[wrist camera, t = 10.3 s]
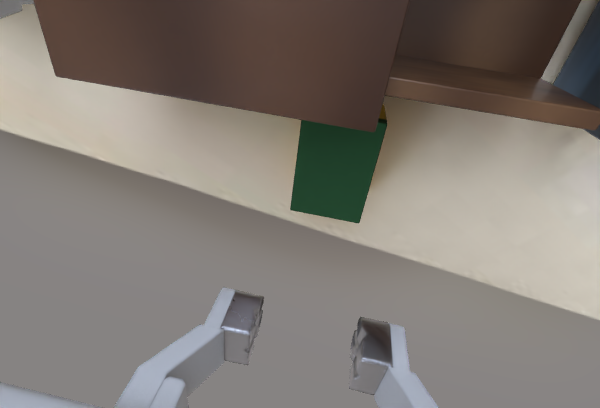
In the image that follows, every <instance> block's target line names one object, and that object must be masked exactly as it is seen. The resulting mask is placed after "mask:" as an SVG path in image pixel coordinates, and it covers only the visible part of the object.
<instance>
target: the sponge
mask: <svg viewBox="0 0 600 408" xmlns="http://www.w3.org/2000/svg"><path fill="white" fill-rule="evenodd" d="M386 128H387V120H386V114H385V108H384V105H383V104H382V108H381V112H380V115H379V119H378V123H377V127H376V130H375V132H368V131H362V130H357V129H351V128H345V127H340V126H334V125H328V124H323V123H317V122H311V121H306V120H302V121H301V129H300V137H299V145H298V153H297V160H296V168H295V176H294V184H293V192H292V200H291V208H290V209H291V210H293V211H298V212H303V213H308V214H313V215H319V216H324V217H329V218H334V219H339V220H344V221H349V222H354V223H359V222H360V219H361V215H362V212H363V208H364V205H365V201H366V198H367V194H368V191H369V187H370V184H371V180H372V177H373V173H374V170H375V166H376V163H377V159H378V156H379V152H380V149H381V145H382V142H383V138H384V135H385V131H386Z"/></svg>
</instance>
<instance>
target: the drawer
mask: <svg viewBox="0 0 600 408" xmlns="http://www.w3.org/2000/svg"><path fill="white" fill-rule="evenodd" d="M580 2H581V0H410V2H409V6H408V10H407V14H406V18H405V21H404V25H403V29H402V33H401V36H400V40H399V44H398V48H397V51H396V55H395V59H394V63H393V66H392V70H391V74H390V78H389V82H388V85H387V89H386V93H385V96H391V97H397V98H403V99H409V100H415V101H421V102H427V103H432V104H438V105H444V106H450V107H456V108H462V109H468V110H474V111H480V112H486V113H492V114H498V115H504V116H510V117H516V118H522V119H528V120H534V121H540V122H545V123H551V124H557V125H563V126H569V127H575V128H581V129H583V130H585V131H587V132H588V133H590V134H591V135H593V136H594V137H596V138H597V139H599V140H600V0H599V2H598V3H597V5H596V7H595V9H594V11H593V12H592V14H591V16H590V18H589V20H588V22H587V23H586V25H585V27H584V29H583V31H582V33H581V34H580V36H579V38H578V40H577V42H576V44H575V45H574V47H573V49H572V51H571V53H570V55H569V56H568V58H567V60H566V62H565V64H564V66H563V67H562V69H561V71H560V73H559V75H558V77H557V78H556V80H555V82H554V84H553V85H552V84H550V83H549V82H547V81H545V80H543V79H541V77H542V75H543V73H544V71H545V69H546V67H547V65H548V63H549V61H550V59H551V57H552V55H553V53H554V52H555V50H556V48H557V46H558V44H559V42H560V40H561V38H562V36H563V34H564V32H565V30H566V28H567V27H568V25H569V23H570V21H571V19H572V17H573V15H574V13H575V11H576V9H577V7H578V5H579V3H580Z"/></svg>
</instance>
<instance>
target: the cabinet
mask: <svg viewBox="0 0 600 408" xmlns="http://www.w3.org/2000/svg"><path fill="white" fill-rule="evenodd" d="M33 1H34V4H35V8H36V11H37V14H38V18H39V21H40V25H41V28H42V31H43V35H44V38H45V42H46V45H47V48H48V52H49V55H50V59H51V62H52V65H53V69H54V72H55V75H56V76H57V77H62V78H68V79H73V80H79V81H85V82H90V83H96V84H102V85H107V86H113V87H119V88H124V89H130V90H136V91H141V92H147V93H153V94H158V95H164V96H170V97H175V98H181V99H187V100H192V101H198V102H204V103H209V104H215V105H221V106H226V107H232V108H238V109H243V110H249V111H255V112H260V113H266V114H272V115H277V116H283V117H289V118H294V119H300V120H306V121H311V122H317V123H323V124H328V125H334V126H340V127H345V128H351V129H357V130H362V131H368V132H375V130H376V127H377V123H378V119H379V115H380V112H381V108H382V104H383V100H384V97H385V93H386V89H387V85H388V82H389V78H390V74H391V70H392V66H393V63H394V59H395V55H396V51H397V48H398V44H399V40H400V36H401V33H402V29H403V25H404V21H405V18H406V14H407V10H408V6H409V2H410V0H33Z"/></svg>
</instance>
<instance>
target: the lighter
mask: <svg viewBox="0 0 600 408" xmlns="http://www.w3.org/2000/svg"><path fill="white" fill-rule="evenodd" d="M22 4H34V1H33V0H0V19H1V18H4V17H6V16H9V15H12V14H14V13H17V12H19V11H22Z"/></svg>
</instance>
